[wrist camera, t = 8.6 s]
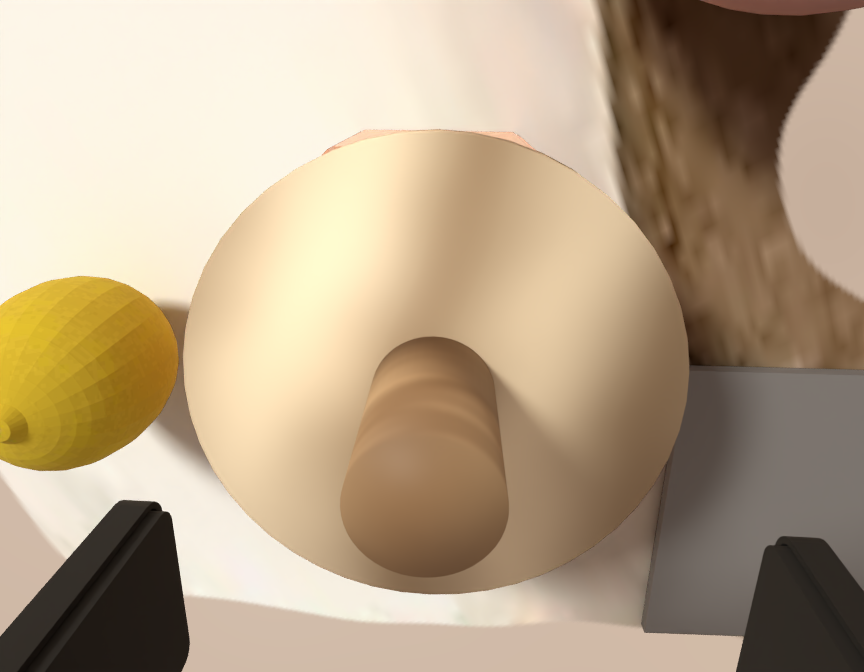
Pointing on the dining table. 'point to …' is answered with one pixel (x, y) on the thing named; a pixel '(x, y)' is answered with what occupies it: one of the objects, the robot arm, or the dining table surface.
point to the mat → (754, 488)
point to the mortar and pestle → (788, 6)
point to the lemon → (80, 371)
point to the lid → (436, 362)
